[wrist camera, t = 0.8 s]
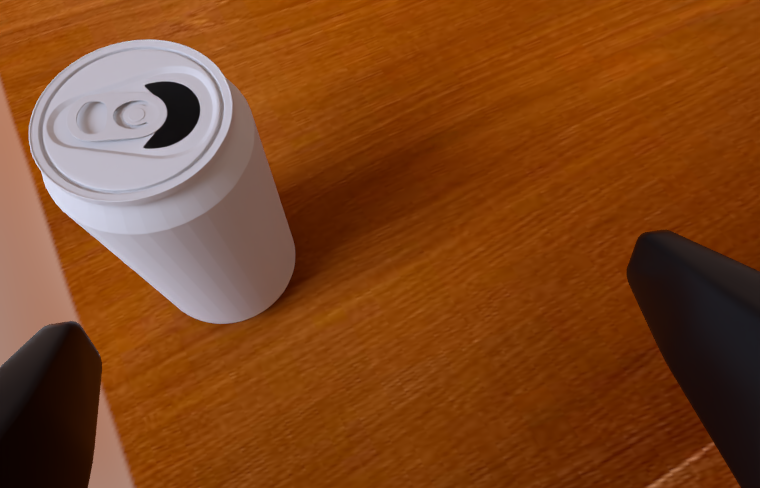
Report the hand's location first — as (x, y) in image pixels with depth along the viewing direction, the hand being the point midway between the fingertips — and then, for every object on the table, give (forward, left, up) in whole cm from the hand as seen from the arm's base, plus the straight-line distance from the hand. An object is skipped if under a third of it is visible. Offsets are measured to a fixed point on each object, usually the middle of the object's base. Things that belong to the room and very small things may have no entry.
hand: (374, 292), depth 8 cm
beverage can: (+6, +7, -16) cm, 19 cm away
